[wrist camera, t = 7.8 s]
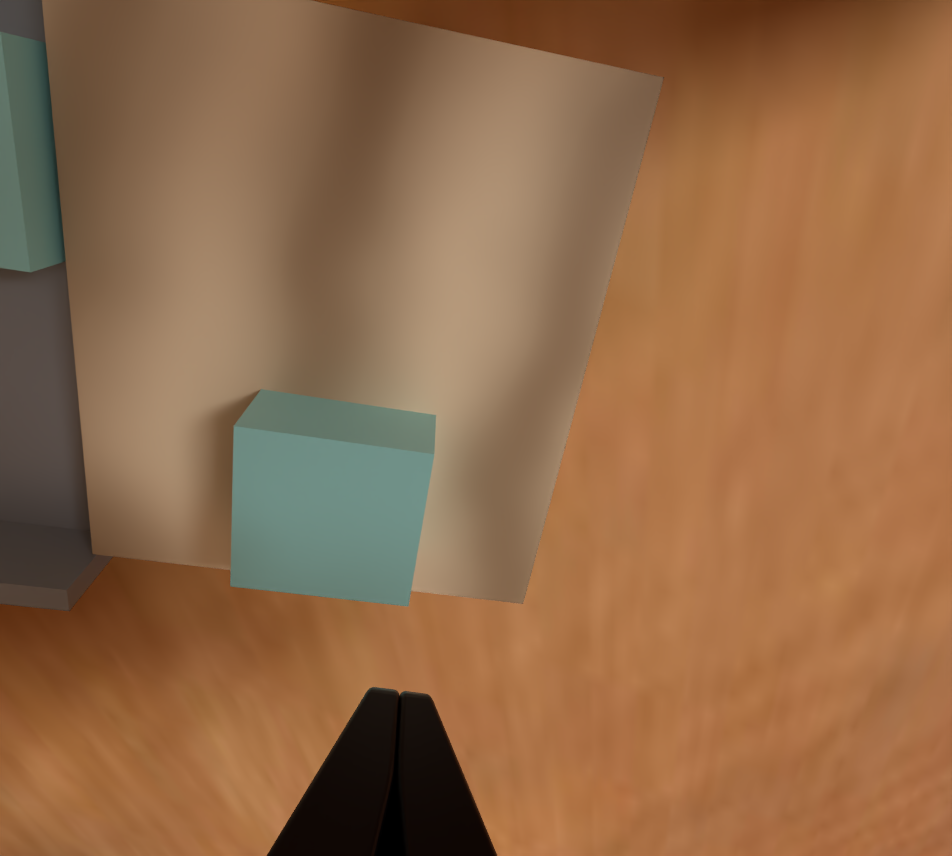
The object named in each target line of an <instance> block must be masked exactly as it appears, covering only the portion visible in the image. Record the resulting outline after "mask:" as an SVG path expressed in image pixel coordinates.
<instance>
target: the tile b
mask: <svg viewBox="0 0 952 856" xmlns="http://www.w3.org/2000/svg"><path fill="white" fill-rule="evenodd" d="M435 429H436V415H432V414H426V413H419V412H412V411H405V410H399V409H392V408H385V407H378V406H372V405H365V404H358V403H351V402H345V401H338V400H331V399H324V398H318V397H311V396H304V395H297V394H291V393H284V392H277V391H270V390H264V389H261V390H260V392H259V393H258V394H257V396H256V397H255V398H254V400H253V401H252V402H251V404H250V405H249V406H248V408H247V409H246V410H245V412H244V413H243V414H242V416H241V417H240V418H239V420H238V421H237V422H236V424H235V425H234V435H233V483H232V532H231V581H230V586H231V587H240V588H249V589H258V590H267V591H276V592H285V593H294V594H302V595H311V596H320V597H329V598H338V599H347V600H356V601H365V602H373V603H382V604H391V605H400V606H409V600H410V594H411V588H412V582H413V576H414V571H415V565H416V559H417V553H418V547H419V541H420V536H421V530H422V524H423V518H424V512H425V506H426V501H427V495H428V489H429V483H430V477H431V471H432V465H433V460H434V452H435Z"/></svg>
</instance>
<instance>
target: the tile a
mask: <svg viewBox="0 0 952 856" xmlns="http://www.w3.org/2000/svg"><path fill="white" fill-rule="evenodd" d="M65 261H66V258H65V247H64V236H63V225H62V214H61V203H60V192H59V181H58V170H57V159H56V148H55V138H54V127H53V116H52V105H51V94H50V83H49V72H48V61H47V50H46V43H45V42H41V41H37V40H33V39H29V38H24V37H20V36H16V35H12V34H8V33H4V32H0V268H5V269H11V270H18V271H24V272H33V271H37V270H40V269H43V268H46V267H49V266H52V265H55V264H59V263H62V262H65Z"/></svg>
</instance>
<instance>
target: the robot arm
mask: <svg viewBox="0 0 952 856" xmlns="http://www.w3.org/2000/svg"><path fill="white" fill-rule="evenodd" d="M267 856H497V854H496V851H495V849H494V847H493V844H492V842H491V839H490V837H489V835H488V832H487V830H486V827H485V825H484V822H483V820H482V818H481V815H480V813H479V810H478V808H477V806H476V803H475V801H474V798H473V796H472V793H471V791H470V789H469V786H468V784H467V781H466V779H465V777H464V774H463V772H462V769H461V767H460V765H459V762H458V760H457V757H456V755H455V752H454V750H453V748H452V745H451V743H450V740H449V738H448V736H447V733H446V731H445V728H444V726H443V723H442V721H441V719H440V716H439V714H438V711H437V709H436V707H435V704H434V702H433V700H432V698H431V697H430V696H429V695H428V694H424V693H416V692H408V691H404V692H402V693H401V694H400V696H399V693H398V692H397V691H396V690H393V689H385V688H377V687H372V688H370V689H369V690H368V691H367V692H366V694H365V695H364V697H363V699H362V700H361V702H360V704H359V705H358V707H357V709H356V710H355V712H354V713H353V715H352V717H351V718H350V720H349V722H348V723H347V725H346V727H345V728H344V730H343V731H342V733H341V735H340V736H339V738H338V740H337V741H336V743H335V745H334V746H333V748H332V750H331V751H330V753H329V754H328V756H327V758H326V759H325V761H324V763H323V764H322V766H321V768H320V769H319V771H318V772H317V774H316V776H315V777H314V779H313V781H312V782H311V784H310V786H309V787H308V789H307V791H306V792H305V794H304V795H303V797H302V799H301V800H300V802H299V804H298V805H297V807H296V809H295V810H294V812H293V813H292V815H291V817H290V818H289V820H288V822H287V823H286V825H285V827H284V828H283V830H282V831H281V833H280V835H279V836H278V838H277V840H276V841H275V843H274V845H273V846H272V848H271V850H270V851H269V853H268V854H267Z"/></svg>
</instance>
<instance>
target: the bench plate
mask: <svg viewBox="0 0 952 856" xmlns="http://www.w3.org/2000/svg"><path fill="white" fill-rule="evenodd" d="M42 6H43V17H44V28H45V39H46V50H47V61H48V72H49V83H50V94H51V105H52V116H53V127H54V138H55V148H56V159H57V170H58V181H59V192H60V203H61V214H62V225H63V236H64V247H65V258H66V269H67V280H68V290H69V301H70V312H71V323H72V334H73V345H74V356H75V367H76V378H77V389H78V400H79V411H80V422H81V432H82V443H83V454H84V465H85V476H86V487H87V498H88V509H89V520H90V531H91V542H92V553H93V554H96V555H105V556H113V557H122V558H130V559H139V560H148V561H156V562H165V563H174V564H182V565H191V566H200V567H208V568H217V569H226V570H231V532H232V483H233V435H234V425H235V424H236V422H237V421H238V420H239V418H240V417H241V416H242V414H243V413H244V412H245V410H246V409H247V408H248V406H249V405H250V404H251V402H252V401H253V400H254V398H255V397H256V396H257V394H258V393H259V392H260V390H261V389H264V390H270V391H277V392H284V393H291V394H297V395H304V396H311V397H318V398H324V399H331V400H338V401H345V402H351V403H358V404H365V405H372V406H378V407H385V408H392V409H399V410H405V411H412V412H419V413H426V414H432V415H436V429H435V452H434V460H433V465H432V471H431V477H430V483H429V489H428V495H427V501H426V506H425V512H424V518H423V524H422V530H421V536H420V541H419V547H418V553H417V559H416V565H415V571H414V576H413V582H412V588H411V591H416V592H425V593H433V594H442V595H451V596H459V597H468V598H477V599H485V600H494V601H503V602H511V603H520V604H523V602H524V598H525V595H526V591H527V587H528V583H529V580H530V576H531V572H532V569H533V565H534V561H535V557H536V554H537V550H538V546H539V542H540V539H541V535H542V531H543V527H544V524H545V520H546V516H547V512H548V509H549V505H550V501H551V498H552V494H553V490H554V486H555V483H556V479H557V475H558V471H559V468H560V464H561V460H562V456H563V453H564V449H565V445H566V442H567V438H568V434H569V430H570V427H571V423H572V419H573V415H574V412H575V408H576V404H577V400H578V397H579V393H580V389H581V385H582V382H583V378H584V374H585V371H586V367H587V363H588V359H589V356H590V352H591V348H592V344H593V341H594V337H595V333H596V329H597V326H598V322H599V318H600V315H601V311H602V307H603V303H604V300H605V296H606V292H607V288H608V285H609V281H610V277H611V273H612V270H613V266H614V262H615V258H616V255H617V251H618V247H619V244H620V240H621V236H622V232H623V229H624V225H625V221H626V217H627V214H628V210H629V206H630V202H631V199H632V195H633V191H634V188H635V184H636V180H637V176H638V173H639V169H640V165H641V161H642V158H643V154H644V150H645V146H646V143H647V139H648V135H649V131H650V128H651V124H652V120H653V117H654V113H655V109H656V105H657V102H658V98H659V94H660V90H661V87H662V83H663V79H664V77H660V76H655V75H651V74H646V73H641V72H637V71H632V70H628V69H623V68H619V67H614V66H609V65H605V64H600V63H596V62H591V61H586V60H582V59H577V58H573V57H568V56H564V55H559V54H554V53H550V52H545V51H541V50H536V49H532V48H527V47H522V46H518V45H513V44H509V43H504V42H500V41H495V40H490V39H486V38H481V37H477V36H472V35H468V34H463V33H458V32H454V31H449V30H445V29H440V28H436V27H431V26H426V25H422V24H417V23H413V22H408V21H404V20H399V19H394V18H390V17H385V16H381V15H376V14H372V13H367V12H362V11H358V10H353V9H349V8H344V7H340V6H335V5H330V4H326V3H321V2H317V1H312V0H42Z"/></svg>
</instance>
